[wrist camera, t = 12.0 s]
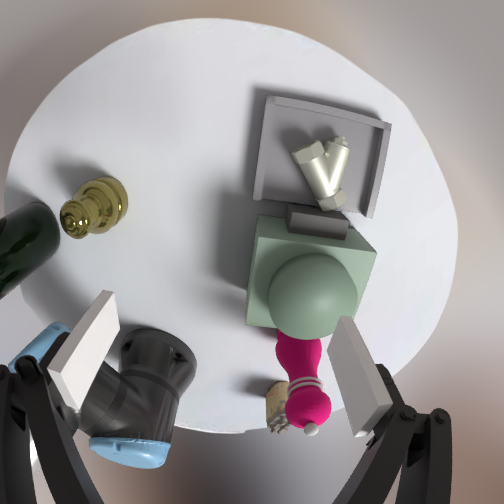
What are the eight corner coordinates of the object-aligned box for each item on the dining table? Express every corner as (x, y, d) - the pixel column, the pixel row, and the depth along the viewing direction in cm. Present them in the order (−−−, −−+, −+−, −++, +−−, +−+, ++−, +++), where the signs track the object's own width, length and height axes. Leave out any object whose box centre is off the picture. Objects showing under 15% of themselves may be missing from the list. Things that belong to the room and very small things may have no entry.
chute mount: (366, 213, 36) (372, 218, 34) (252, 195, 36) (252, 199, 33) (384, 123, 31) (391, 124, 29) (266, 97, 30) (267, 94, 28)
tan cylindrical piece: (277, 400, 54) (279, 438, 45) (261, 397, 53) (261, 435, 44) (293, 382, 51) (297, 423, 42) (276, 378, 50) (279, 420, 41)
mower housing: (334, 299, 42) (353, 347, 32) (247, 291, 42) (244, 340, 32) (359, 212, 36) (394, 243, 26) (260, 196, 36) (262, 223, 26)
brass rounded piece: (88, 173, 34) (46, 189, 25) (130, 177, 34) (93, 195, 25) (87, 220, 37) (50, 246, 28) (128, 227, 37) (96, 257, 28)
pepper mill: (267, 324, 44) (272, 431, 26) (308, 308, 43) (334, 414, 25) (283, 351, 47) (293, 450, 29) (321, 337, 46) (346, 436, 27)
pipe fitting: (335, 129, 31) (289, 151, 32) (346, 128, 28) (296, 153, 29) (359, 184, 34) (316, 206, 35) (372, 189, 31) (325, 214, 31)
